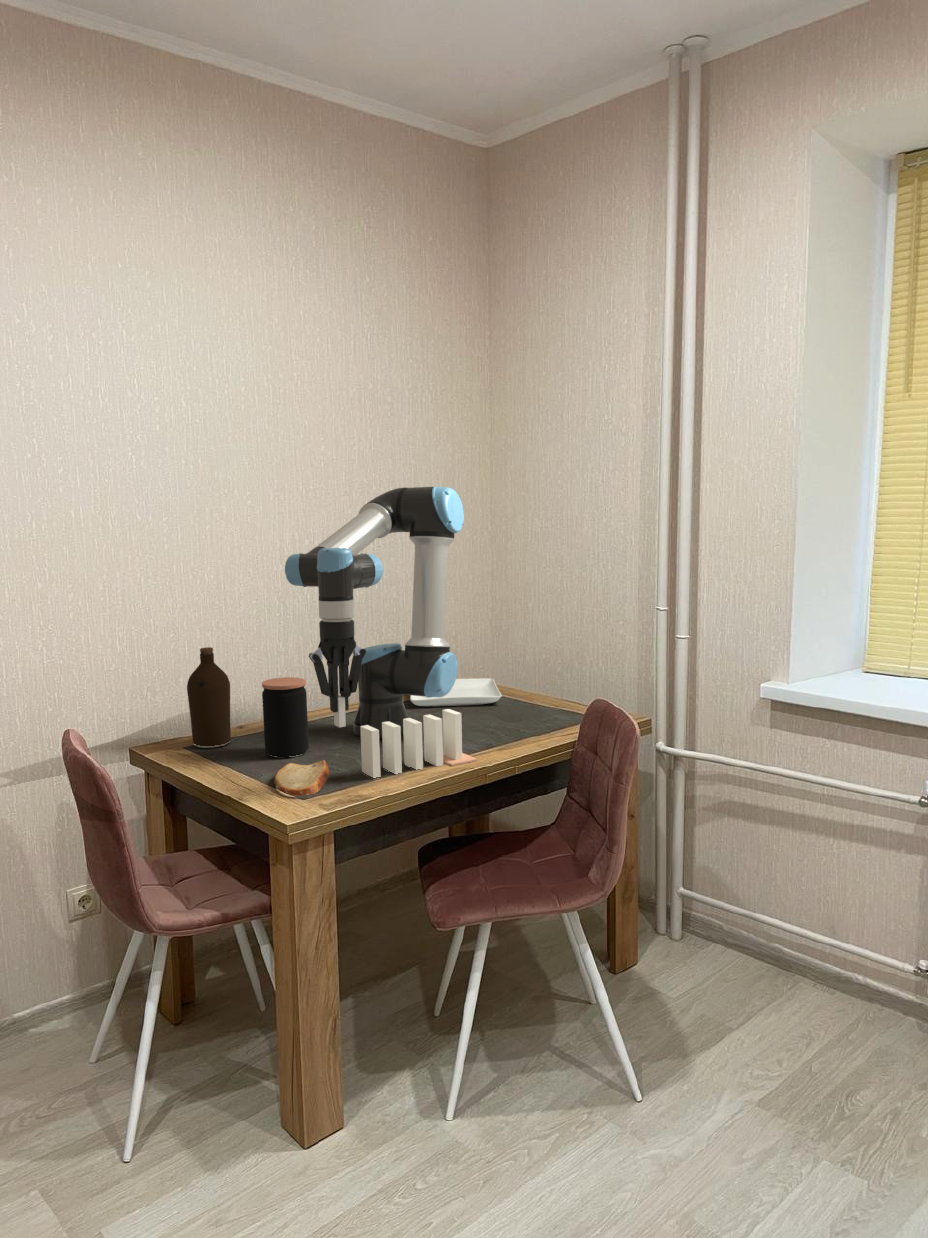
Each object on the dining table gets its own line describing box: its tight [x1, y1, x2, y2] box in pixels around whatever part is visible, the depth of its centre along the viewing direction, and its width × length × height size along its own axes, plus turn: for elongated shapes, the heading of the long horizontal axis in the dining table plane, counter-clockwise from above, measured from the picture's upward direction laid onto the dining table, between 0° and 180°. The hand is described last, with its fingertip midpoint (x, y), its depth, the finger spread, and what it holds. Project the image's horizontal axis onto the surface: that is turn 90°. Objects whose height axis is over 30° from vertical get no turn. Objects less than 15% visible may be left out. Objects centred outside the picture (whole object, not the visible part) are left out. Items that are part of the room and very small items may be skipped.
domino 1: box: [360, 725, 382, 778], centre depth 212 cm, size 2×6×11 cm, turn 33°
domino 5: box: [441, 708, 463, 760], centre depth 224 cm, size 2×6×11 cm, turn 33°
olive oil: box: [186, 646, 232, 746], centre depth 240 cm, size 11×11×25 cm
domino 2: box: [381, 721, 403, 775], centre depth 215 cm, size 2×6×11 cm, turn 33°
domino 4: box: [422, 713, 444, 767], centre depth 221 cm, size 2×6×11 cm, turn 33°
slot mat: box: [443, 752, 478, 767], centre depth 224 cm, size 7×10×1 cm
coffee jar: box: [261, 676, 310, 757], centre depth 231 cm, size 11×11×18 cm
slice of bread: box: [274, 759, 330, 796], centre depth 208 cm, size 18×18×4 cm
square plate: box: [409, 677, 503, 708], centre depth 289 cm, size 27×27×4 cm
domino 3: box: [403, 717, 424, 771], centre depth 218 cm, size 2×6×11 cm, turn 33°
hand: (340, 725), depth 207 cm, fingers closed
